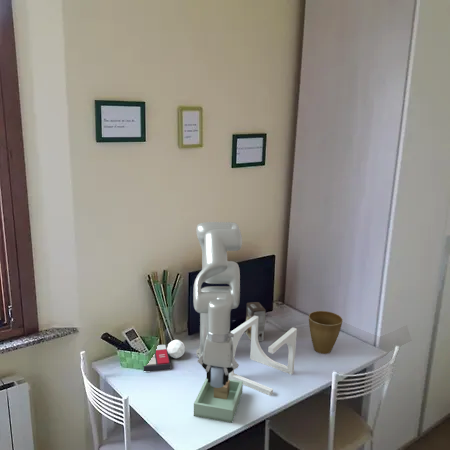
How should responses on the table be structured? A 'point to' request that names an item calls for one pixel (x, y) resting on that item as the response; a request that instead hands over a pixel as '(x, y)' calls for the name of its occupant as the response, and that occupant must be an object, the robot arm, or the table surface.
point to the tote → (218, 402)
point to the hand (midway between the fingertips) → (217, 381)
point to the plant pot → (324, 330)
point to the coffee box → (259, 311)
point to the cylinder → (216, 376)
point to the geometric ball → (176, 348)
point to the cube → (222, 391)
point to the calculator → (159, 360)
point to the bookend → (260, 356)
